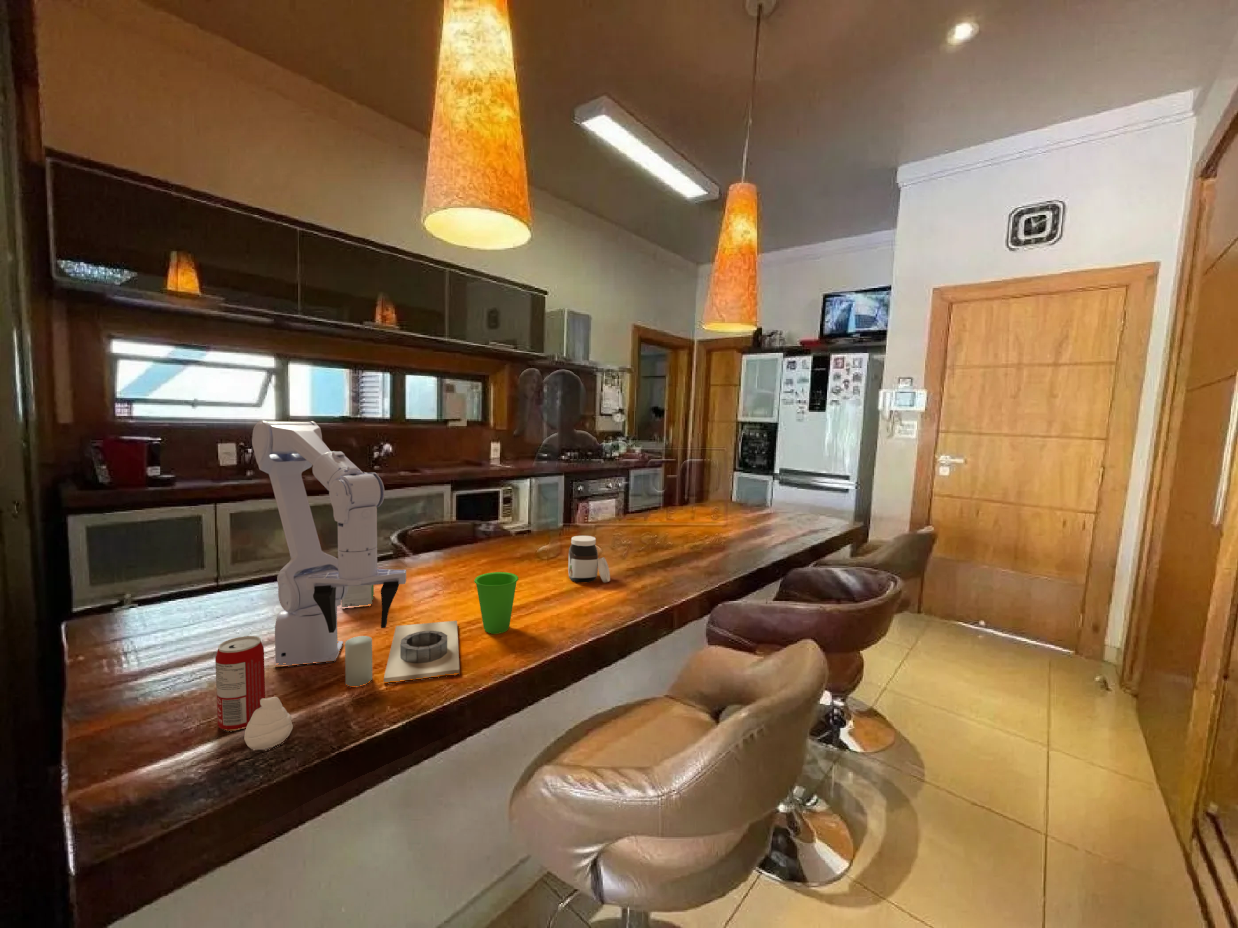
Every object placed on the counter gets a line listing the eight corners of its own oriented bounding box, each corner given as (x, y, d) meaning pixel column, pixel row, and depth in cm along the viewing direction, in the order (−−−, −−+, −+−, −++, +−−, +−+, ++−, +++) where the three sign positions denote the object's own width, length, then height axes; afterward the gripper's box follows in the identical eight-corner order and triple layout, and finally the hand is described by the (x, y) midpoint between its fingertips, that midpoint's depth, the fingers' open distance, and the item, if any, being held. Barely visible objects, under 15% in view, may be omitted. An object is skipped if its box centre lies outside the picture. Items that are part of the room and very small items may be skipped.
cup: (472, 639, 103) (472, 586, 102) (476, 621, 112) (475, 572, 111) (518, 636, 105) (518, 584, 104) (518, 619, 114) (518, 571, 113)
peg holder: (383, 684, 85) (383, 663, 85) (396, 630, 106) (396, 614, 106) (459, 674, 89) (459, 655, 89) (456, 625, 110) (457, 609, 109)
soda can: (264, 706, 78) (262, 630, 77) (266, 724, 73) (264, 643, 72) (218, 718, 74) (215, 638, 73) (217, 738, 70) (214, 653, 69)
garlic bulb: (290, 684, 73) (293, 702, 69) (291, 724, 74) (294, 744, 69) (243, 695, 70) (243, 714, 66) (244, 736, 70) (244, 759, 66)
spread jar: (565, 574, 148) (566, 534, 147) (603, 572, 151) (604, 533, 150) (574, 587, 137) (575, 545, 136) (614, 585, 140) (616, 543, 139)
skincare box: (371, 607, 118) (371, 541, 117) (339, 610, 116) (338, 542, 114) (374, 595, 126) (373, 532, 124) (343, 597, 123) (343, 534, 122)
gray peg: (343, 689, 83) (342, 647, 83) (347, 677, 87) (347, 637, 86) (370, 685, 85) (370, 645, 84) (373, 674, 88) (373, 635, 88)
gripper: (300, 556, 78) (302, 642, 79) (403, 551, 82) (404, 633, 84) (311, 545, 84) (313, 625, 86) (407, 541, 89) (407, 617, 90)
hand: (358, 628), depth 85 cm, fingers open, 7 cm apart
